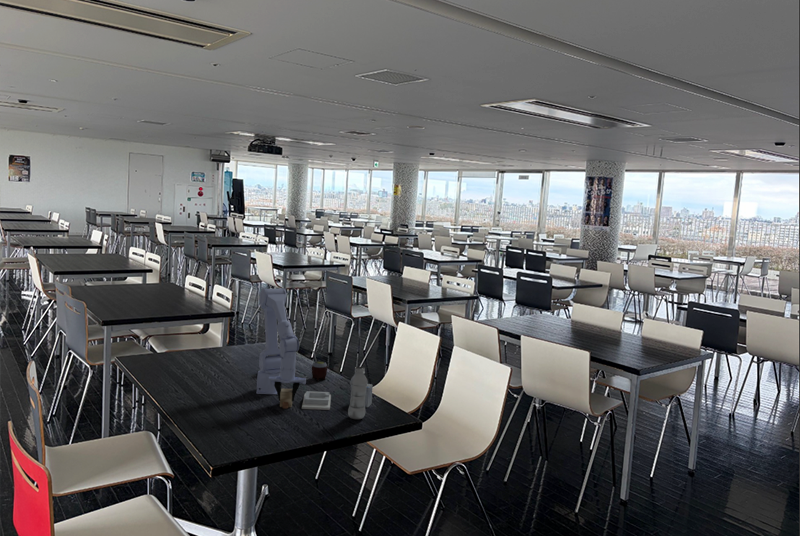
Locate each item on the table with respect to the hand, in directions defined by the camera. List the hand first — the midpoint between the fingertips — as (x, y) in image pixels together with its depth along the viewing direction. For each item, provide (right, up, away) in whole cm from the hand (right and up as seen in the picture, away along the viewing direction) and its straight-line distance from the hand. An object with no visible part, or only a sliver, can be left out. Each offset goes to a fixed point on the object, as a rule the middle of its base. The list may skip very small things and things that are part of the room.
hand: (286, 400), depth 238 cm
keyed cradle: (+11, -2, +5) cm, 13 cm away
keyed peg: (0, -2, 0) cm, 2 cm away
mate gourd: (+8, +2, +35) cm, 36 cm away
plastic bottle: (+29, -5, -8) cm, 30 cm away
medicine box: (+29, -4, +7) cm, 30 cm away
